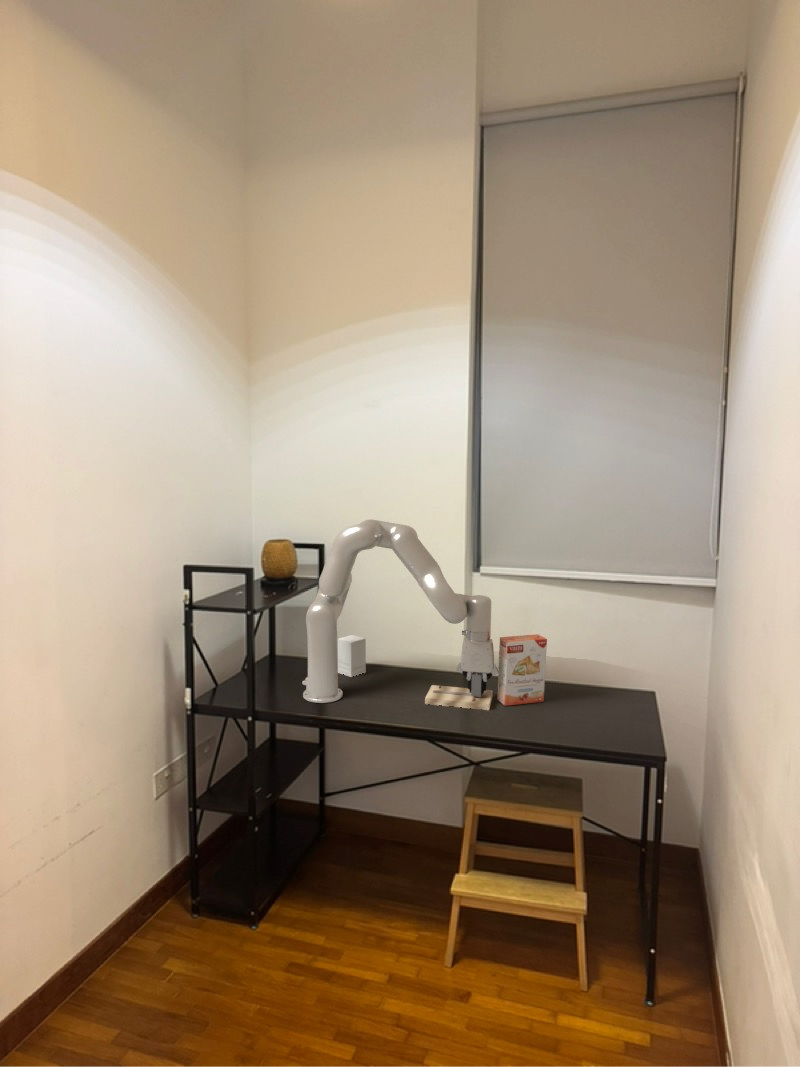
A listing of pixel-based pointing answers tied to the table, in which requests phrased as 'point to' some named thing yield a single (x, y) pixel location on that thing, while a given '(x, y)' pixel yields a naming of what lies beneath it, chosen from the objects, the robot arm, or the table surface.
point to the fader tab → (476, 684)
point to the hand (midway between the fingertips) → (476, 691)
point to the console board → (458, 697)
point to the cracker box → (521, 669)
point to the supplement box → (351, 655)
